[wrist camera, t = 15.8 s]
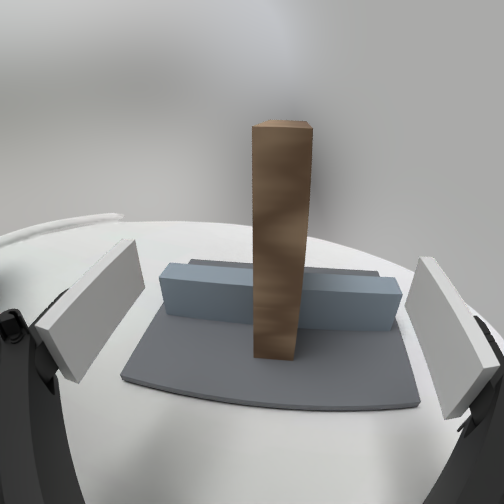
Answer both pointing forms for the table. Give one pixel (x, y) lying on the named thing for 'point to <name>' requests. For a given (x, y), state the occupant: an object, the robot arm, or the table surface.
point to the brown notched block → (279, 232)
